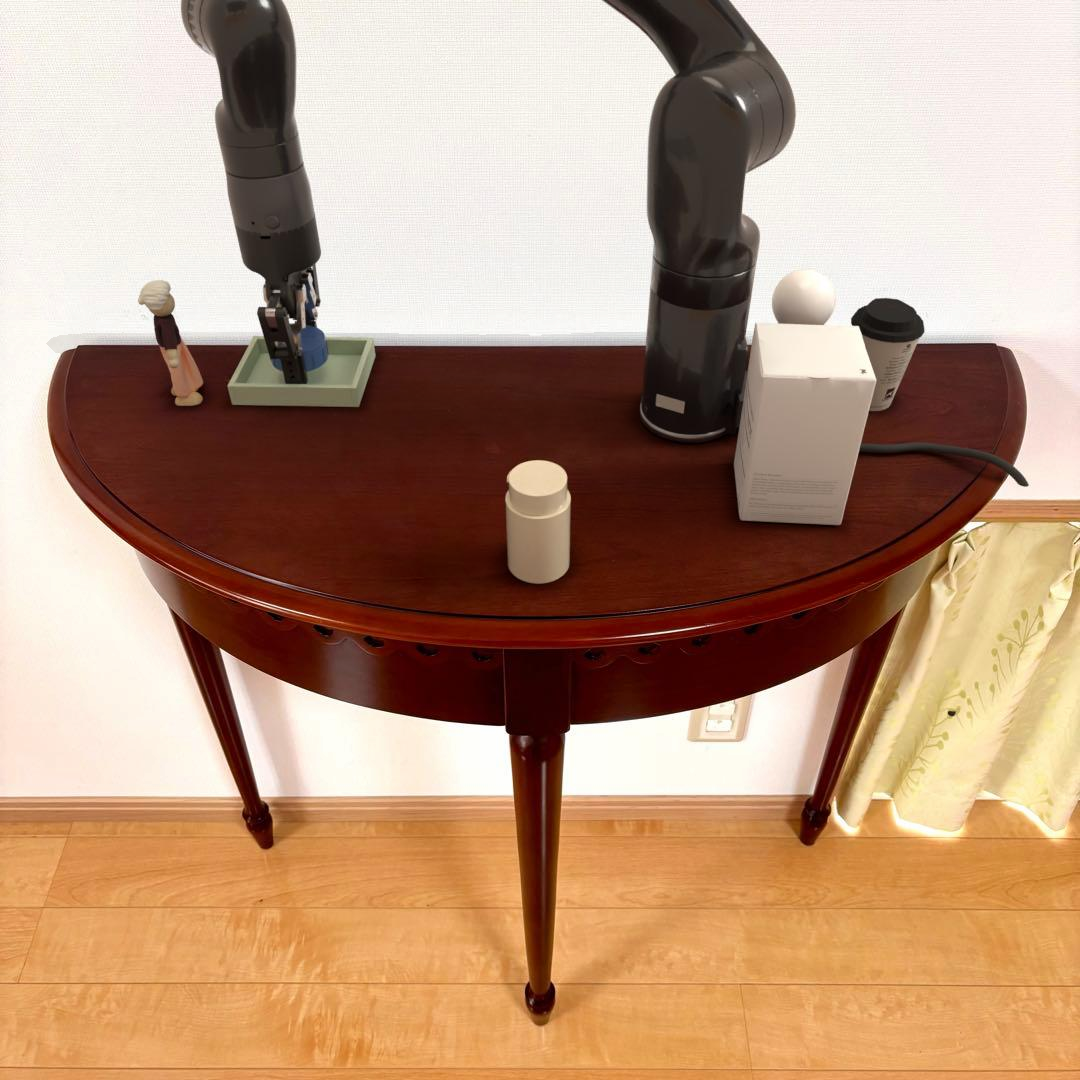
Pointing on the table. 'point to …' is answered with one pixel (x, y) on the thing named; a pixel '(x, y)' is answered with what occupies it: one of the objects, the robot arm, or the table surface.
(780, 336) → the rectangular carton
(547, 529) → the jar
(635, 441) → the table surface
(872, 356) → the coffee cup
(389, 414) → the table surface
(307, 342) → the lid
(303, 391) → the tray
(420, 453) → the table surface
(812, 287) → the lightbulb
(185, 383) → the grandmother figurine
